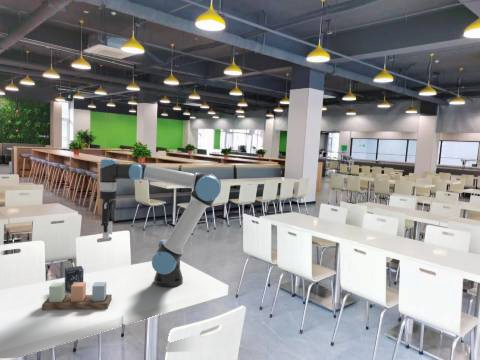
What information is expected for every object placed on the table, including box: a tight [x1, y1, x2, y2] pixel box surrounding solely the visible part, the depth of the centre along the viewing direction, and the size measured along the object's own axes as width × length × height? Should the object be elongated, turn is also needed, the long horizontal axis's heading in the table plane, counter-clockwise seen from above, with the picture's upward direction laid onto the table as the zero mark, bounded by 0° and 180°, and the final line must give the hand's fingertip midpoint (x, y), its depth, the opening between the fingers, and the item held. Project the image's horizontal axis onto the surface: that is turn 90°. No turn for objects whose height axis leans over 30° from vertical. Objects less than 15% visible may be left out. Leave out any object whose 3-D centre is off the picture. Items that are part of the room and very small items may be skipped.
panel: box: [41, 294, 113, 311], centre depth 168 cm, size 27×10×2 cm, turn 99°
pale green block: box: [48, 281, 66, 303], centre depth 166 cm, size 5×5×7 cm
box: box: [64, 265, 85, 293], centre depth 186 cm, size 8×6×11 cm
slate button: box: [91, 281, 107, 301], centre depth 169 cm, size 5×5×7 cm
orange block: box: [70, 281, 87, 302], centre depth 168 cm, size 5×5×7 cm
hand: (107, 236), depth 184 cm, fingers open, 8 cm apart
